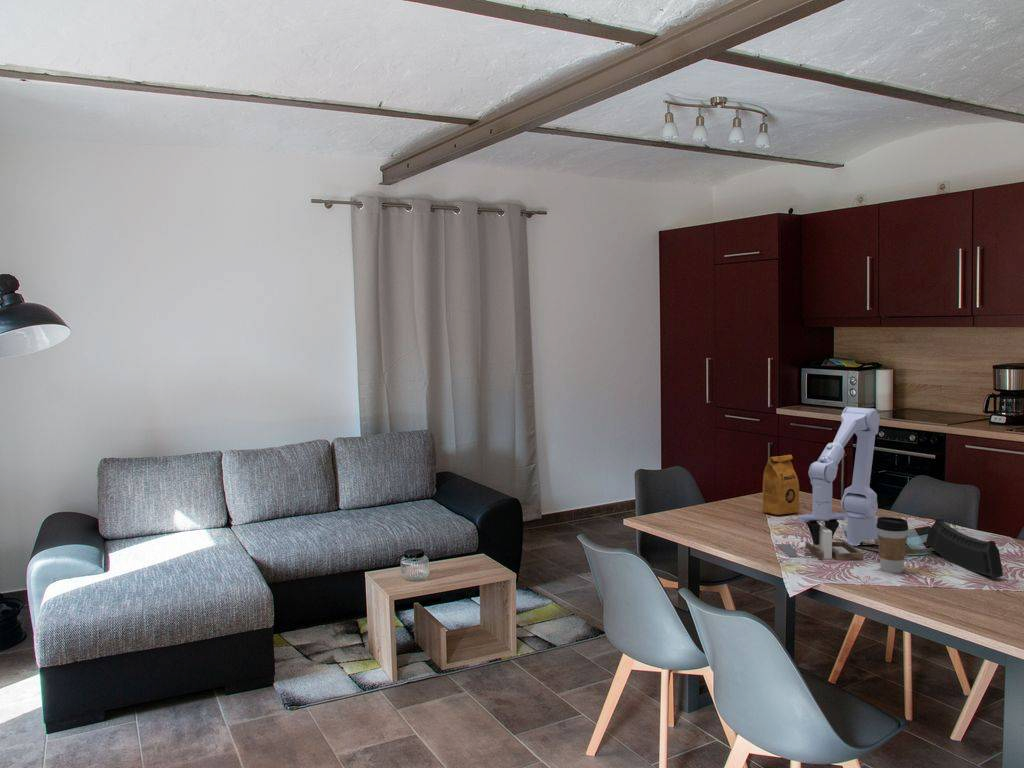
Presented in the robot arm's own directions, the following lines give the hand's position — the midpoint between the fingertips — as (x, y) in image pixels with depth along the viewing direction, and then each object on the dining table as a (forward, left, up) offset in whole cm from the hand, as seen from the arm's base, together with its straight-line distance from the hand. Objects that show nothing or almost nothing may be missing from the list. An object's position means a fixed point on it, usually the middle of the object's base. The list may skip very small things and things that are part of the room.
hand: (822, 544), depth 254 cm
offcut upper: (-6, 0, -3) cm, 7 cm away
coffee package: (-4, -55, -3) cm, 55 cm away
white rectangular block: (0, 0, -3) cm, 3 cm away
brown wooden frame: (-3, 0, -3) cm, 5 cm away
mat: (+8, -4, -3) cm, 9 cm away
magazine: (-36, +13, -3) cm, 38 cm away
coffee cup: (-14, +17, -3) cm, 22 cm away
